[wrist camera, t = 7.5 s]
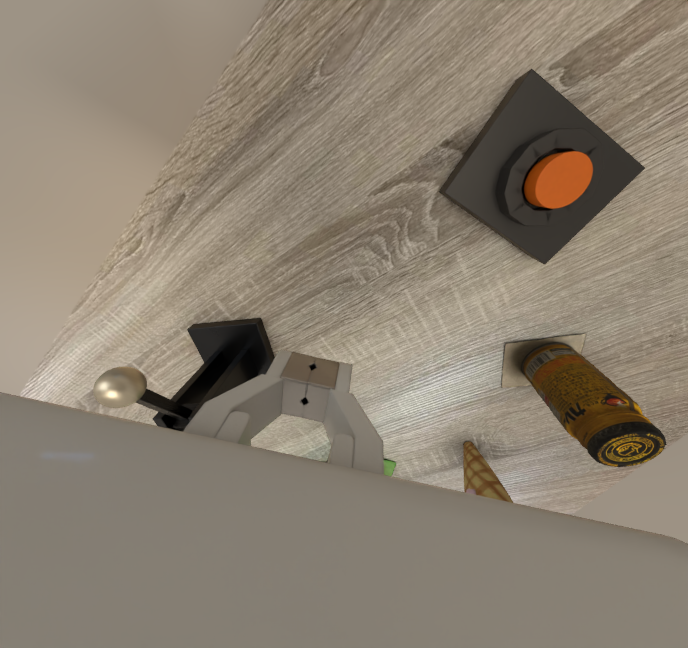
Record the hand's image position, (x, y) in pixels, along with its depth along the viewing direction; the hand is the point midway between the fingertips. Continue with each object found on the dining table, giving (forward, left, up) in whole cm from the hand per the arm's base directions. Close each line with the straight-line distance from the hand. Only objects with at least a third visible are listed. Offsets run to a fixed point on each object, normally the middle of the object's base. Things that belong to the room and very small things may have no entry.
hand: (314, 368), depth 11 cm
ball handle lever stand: (-6, -21, -20) cm, 30 cm away
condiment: (+27, 0, -20) cm, 34 cm away
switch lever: (-9, -18, -8) cm, 22 cm away
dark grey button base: (+10, +14, -20) cm, 26 cm away
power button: (+10, +14, -16) cm, 23 cm away
